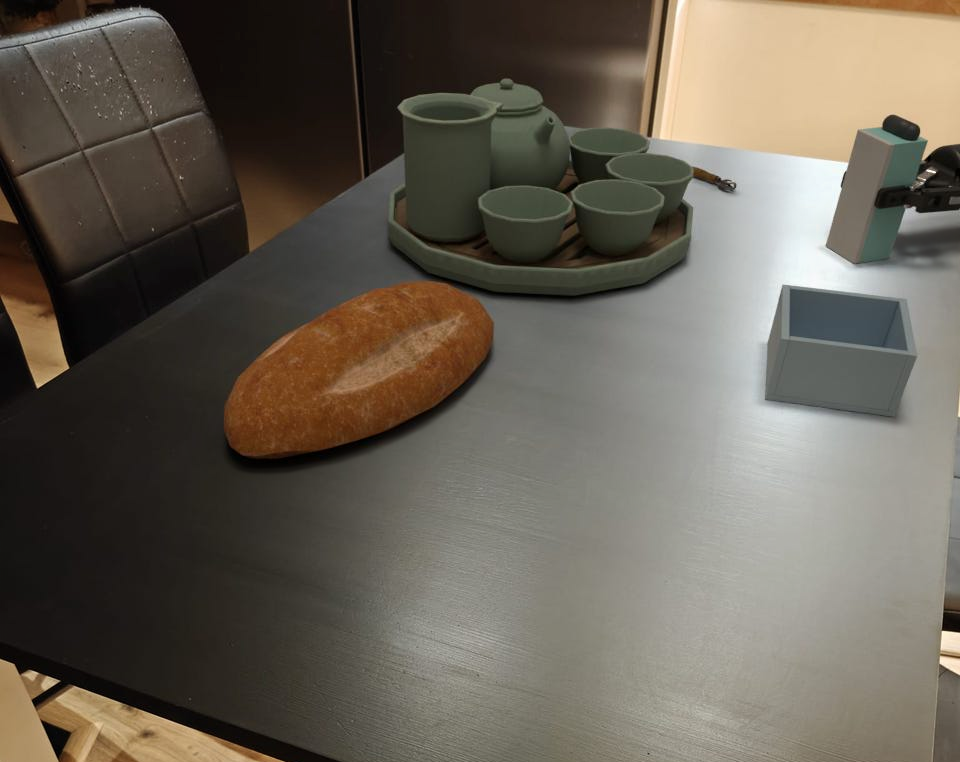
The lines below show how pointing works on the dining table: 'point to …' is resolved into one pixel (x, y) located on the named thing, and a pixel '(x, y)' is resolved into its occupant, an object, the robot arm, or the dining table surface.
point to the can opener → (713, 178)
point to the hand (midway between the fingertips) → (861, 189)
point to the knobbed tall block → (875, 189)
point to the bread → (358, 370)
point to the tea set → (533, 197)
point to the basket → (840, 350)
